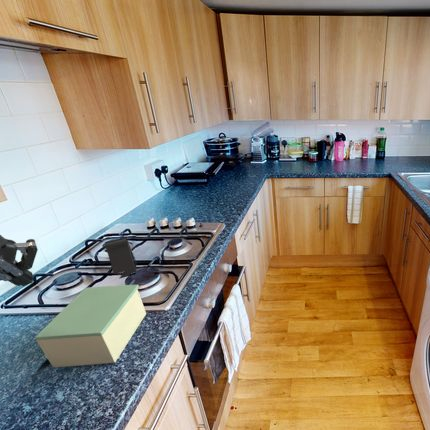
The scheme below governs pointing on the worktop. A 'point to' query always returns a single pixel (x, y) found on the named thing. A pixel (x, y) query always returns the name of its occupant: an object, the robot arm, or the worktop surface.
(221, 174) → the worktop surface
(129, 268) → the phone stand
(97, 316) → the lid
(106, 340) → the box
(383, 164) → the worktop surface
